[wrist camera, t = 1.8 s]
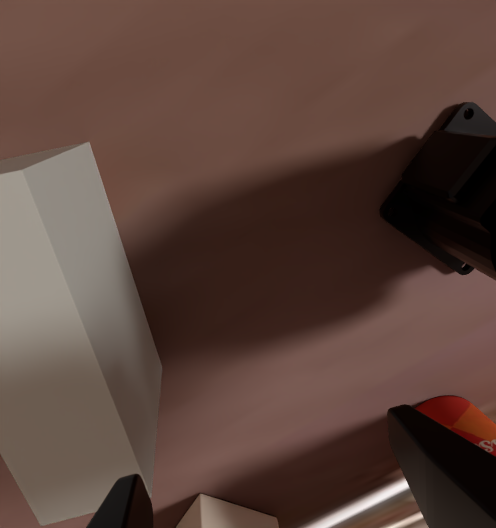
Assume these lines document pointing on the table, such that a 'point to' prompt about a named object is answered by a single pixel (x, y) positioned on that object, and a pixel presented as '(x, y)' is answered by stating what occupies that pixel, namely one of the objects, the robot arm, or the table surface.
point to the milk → (223, 515)
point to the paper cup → (462, 420)
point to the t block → (70, 339)
